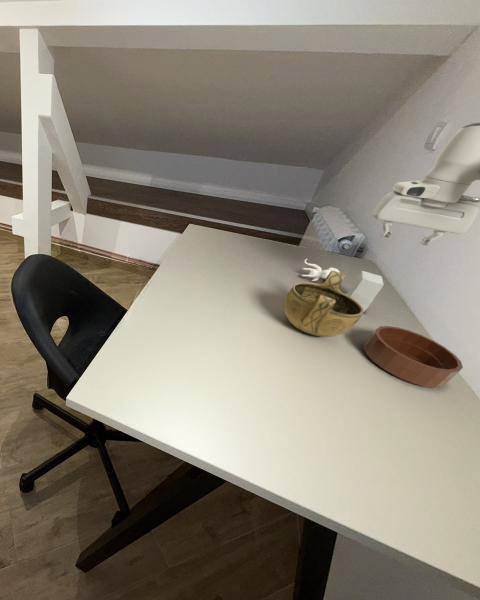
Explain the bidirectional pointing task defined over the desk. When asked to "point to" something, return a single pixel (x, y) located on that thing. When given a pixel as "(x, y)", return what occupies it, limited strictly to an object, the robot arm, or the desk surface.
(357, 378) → the desk surface
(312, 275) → the figurine
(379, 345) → the terracotta bowl
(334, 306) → the ceramic bowl
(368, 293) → the small box
